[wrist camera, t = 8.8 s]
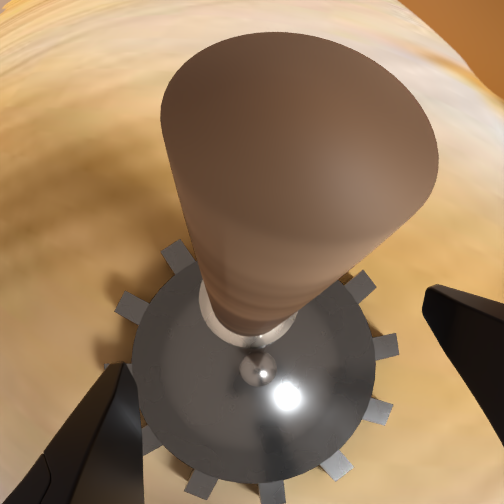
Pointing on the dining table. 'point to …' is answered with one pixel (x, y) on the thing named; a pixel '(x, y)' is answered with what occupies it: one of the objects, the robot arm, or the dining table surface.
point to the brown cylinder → (290, 168)
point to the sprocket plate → (253, 382)
